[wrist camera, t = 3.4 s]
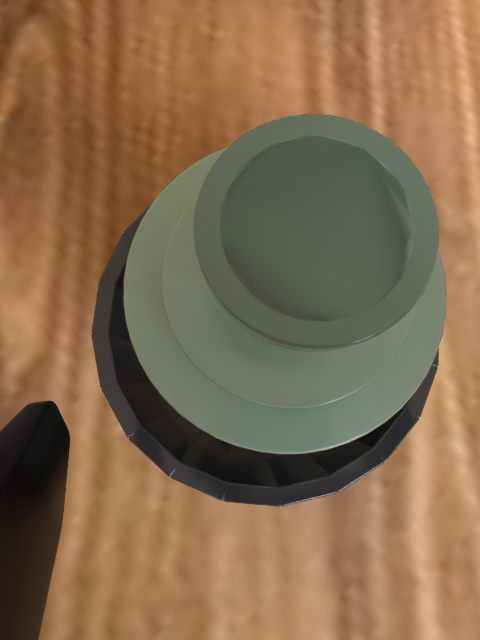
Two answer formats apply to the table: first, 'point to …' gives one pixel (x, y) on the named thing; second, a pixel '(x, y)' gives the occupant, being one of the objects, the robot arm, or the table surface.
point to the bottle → (289, 286)
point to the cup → (207, 451)
